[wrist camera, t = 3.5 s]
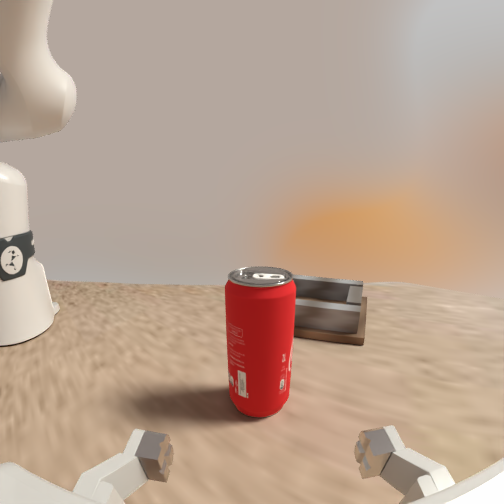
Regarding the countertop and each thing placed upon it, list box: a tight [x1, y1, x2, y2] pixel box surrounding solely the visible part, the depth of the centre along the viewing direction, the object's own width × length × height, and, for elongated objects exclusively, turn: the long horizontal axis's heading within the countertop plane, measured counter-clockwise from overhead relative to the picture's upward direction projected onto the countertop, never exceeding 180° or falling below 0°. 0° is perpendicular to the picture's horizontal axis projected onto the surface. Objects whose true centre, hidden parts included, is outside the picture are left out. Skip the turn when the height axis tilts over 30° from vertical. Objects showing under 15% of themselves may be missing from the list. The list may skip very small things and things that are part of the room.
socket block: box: [293, 275, 367, 345], centre depth 42 cm, size 15×15×4 cm
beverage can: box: [225, 267, 296, 418], centre depth 22 cm, size 5×5×12 cm
